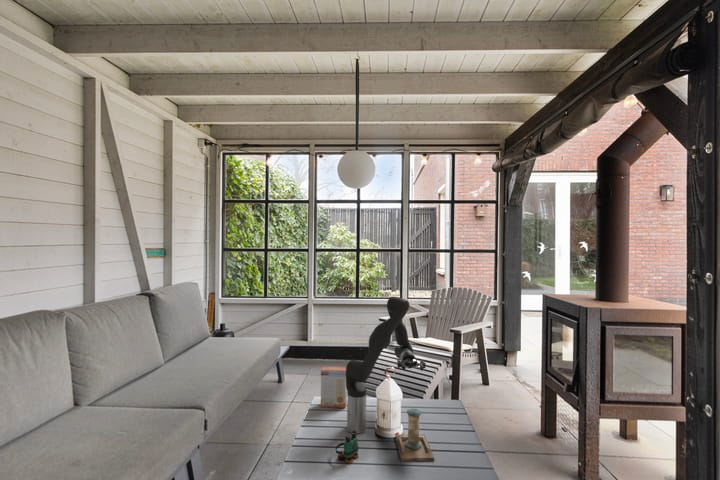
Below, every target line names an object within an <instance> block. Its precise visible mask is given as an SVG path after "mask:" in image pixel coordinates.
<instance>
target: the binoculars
mask: <svg viewBox="0 0 720 480" xmlns="http://www.w3.org/2000/svg"><path fill="white" fill-rule="evenodd" d="M350 434H351V436H348V435H346V436H344V437H345V440H346V441H344V442H340V443H338V444H337V445H336V446H335V453H336V454H338V455H337V459H338V460H345V461H346V463H347V464H352V463H353V462H354V461H353V460H354V459H358V458H359V453H358V452H359V449H360V448H359V441H358V436H357V434H356V431H352V432H350ZM341 446H343V450H338V448H339V447H341Z"/></svg>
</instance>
